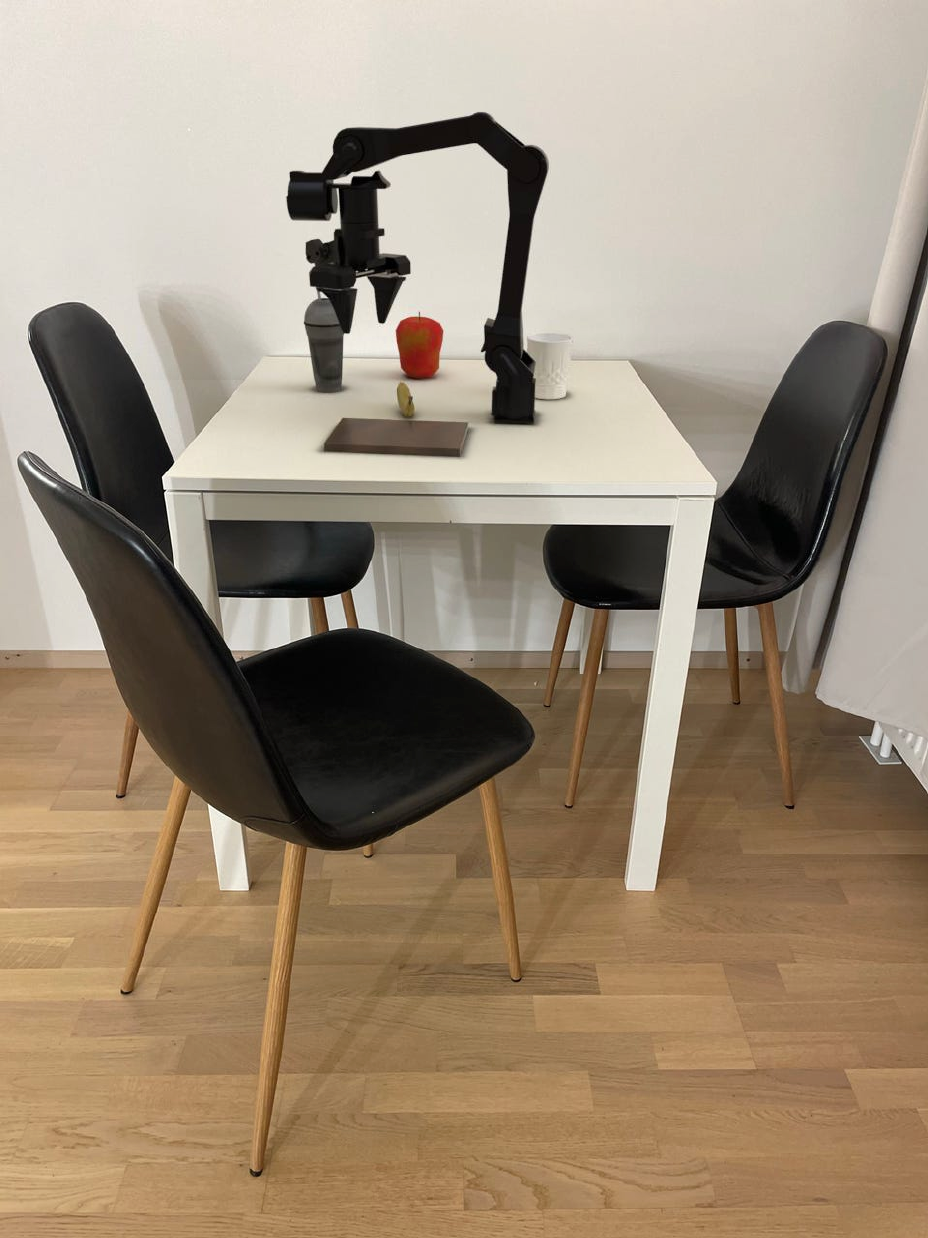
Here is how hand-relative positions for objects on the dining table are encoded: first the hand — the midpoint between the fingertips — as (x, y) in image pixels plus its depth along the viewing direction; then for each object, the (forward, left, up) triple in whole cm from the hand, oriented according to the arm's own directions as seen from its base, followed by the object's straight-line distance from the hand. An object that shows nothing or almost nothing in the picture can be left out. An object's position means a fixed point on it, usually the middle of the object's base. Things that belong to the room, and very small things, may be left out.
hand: (364, 328), depth 146 cm
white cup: (-29, -15, -14) cm, 36 cm away
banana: (-6, -1, -14) cm, 15 cm away
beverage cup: (+10, -14, -14) cm, 22 cm away
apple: (-5, -25, -14) cm, 29 cm away
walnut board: (-7, +14, -14) cm, 21 cm away
